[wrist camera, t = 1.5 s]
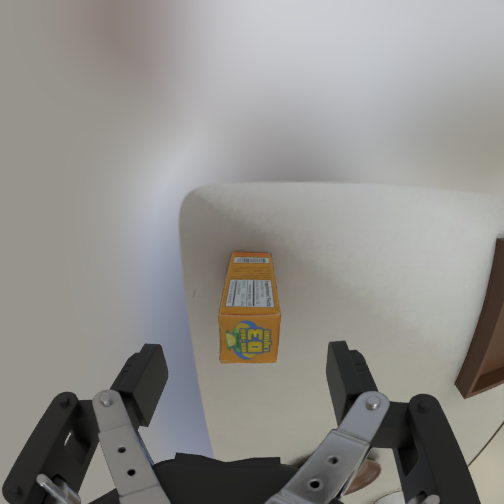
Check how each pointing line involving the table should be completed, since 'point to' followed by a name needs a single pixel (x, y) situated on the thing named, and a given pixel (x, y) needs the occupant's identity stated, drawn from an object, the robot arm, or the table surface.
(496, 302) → the tray
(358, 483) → the saucer
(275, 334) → the supplement box
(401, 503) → the cup
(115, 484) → the robot arm
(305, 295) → the table surface
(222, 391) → the table surface
